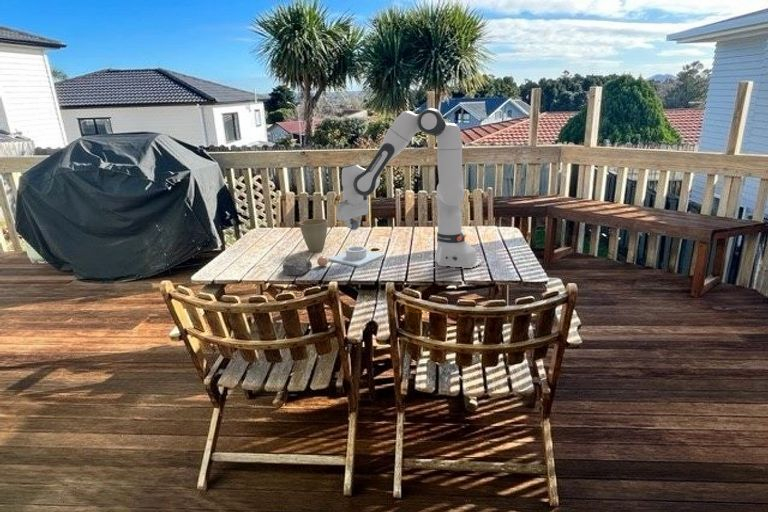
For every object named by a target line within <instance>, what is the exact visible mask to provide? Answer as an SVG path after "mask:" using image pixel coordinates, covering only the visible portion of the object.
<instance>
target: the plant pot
mask: <svg viewBox="0 0 768 512" xmlns="http://www.w3.org/2000/svg"><path fill="white" fill-rule="evenodd" d="M299 227H300V231H301V232H300V233H301V234H302V237H303V239H304V242H305V244H306V247H307V249H308V250H309V252H310V251H311V253H319V252H318V251H320V252H322V251H324V248H325V244H326V239H327V233H328V220H327V219H325V218H311V219H309V218H308V219H305V220H302V221H299Z"/></svg>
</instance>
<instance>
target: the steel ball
mask: <svg viewBox="0 0 768 512" xmlns="http://www.w3.org/2000/svg"><path fill="white" fill-rule="evenodd" d="M350 224H352V228H349V229H350V230H352V231H357V230H358V229H359V227H360V225H359V223H358V221H357V220H356V219H350Z"/></svg>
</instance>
